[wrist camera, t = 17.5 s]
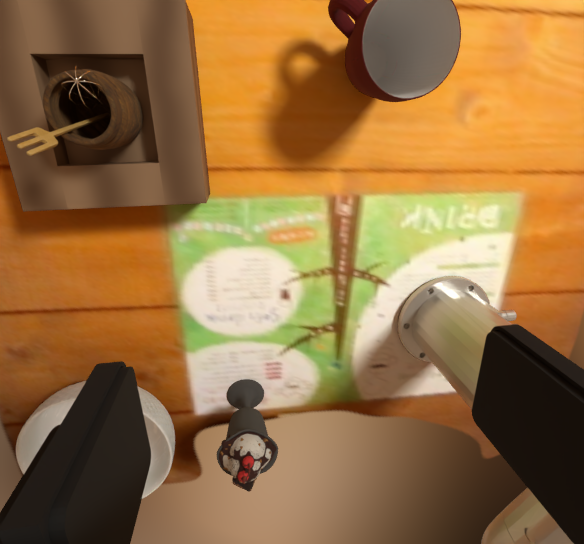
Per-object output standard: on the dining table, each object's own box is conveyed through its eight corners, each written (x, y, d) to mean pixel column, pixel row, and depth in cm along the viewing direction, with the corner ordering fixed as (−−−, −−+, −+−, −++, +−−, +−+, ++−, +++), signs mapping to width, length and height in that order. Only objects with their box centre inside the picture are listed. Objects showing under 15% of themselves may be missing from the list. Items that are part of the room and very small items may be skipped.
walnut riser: (192, 18, 34) (184, -1, 29) (210, 193, 40) (206, 202, 35) (4, 15, 32) (-40, -6, 27) (51, 200, 38) (23, 211, 33)
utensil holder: (158, 111, 34) (120, 102, 23) (118, 164, 35) (62, 180, 24) (100, 59, 32) (27, 22, 21) (59, 117, 33) (-32, 111, 22)
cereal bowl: (19, 379, 45) (-18, 422, 38) (154, 343, 45) (140, 380, 39) (80, 476, 51) (57, 527, 45) (197, 443, 52) (192, 488, 45)
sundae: (243, 364, 48) (246, 459, 34) (279, 391, 51) (296, 490, 37) (209, 396, 49) (199, 501, 35) (246, 421, 52) (250, 528, 38)
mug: (294, 63, 37) (313, 41, 27) (337, -20, 35) (373, -74, 25) (377, 122, 40) (420, 120, 30) (421, 48, 38) (482, 22, 28)
